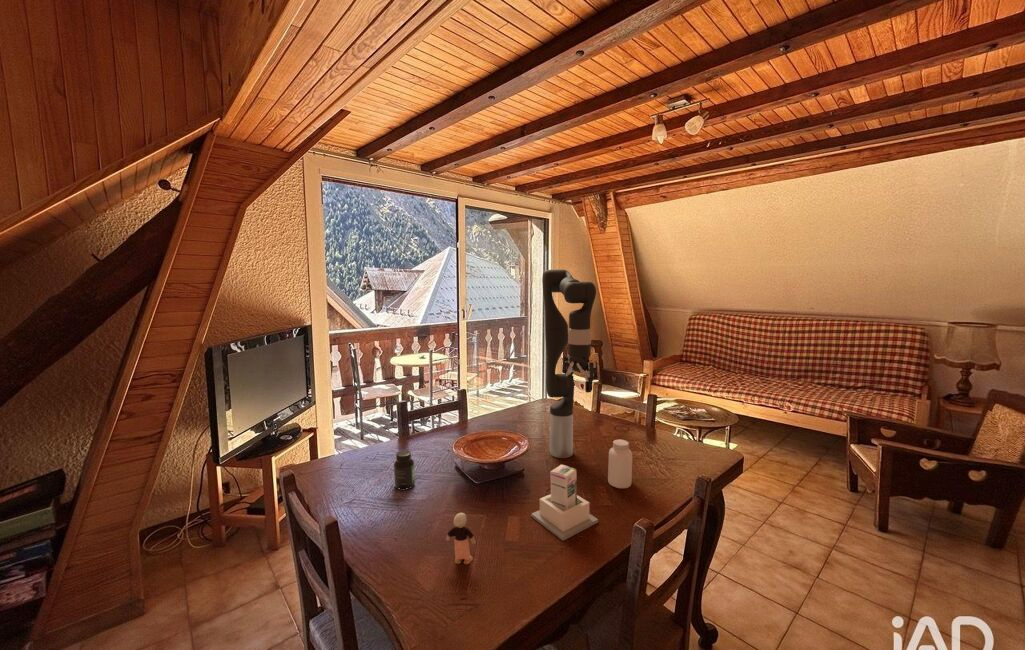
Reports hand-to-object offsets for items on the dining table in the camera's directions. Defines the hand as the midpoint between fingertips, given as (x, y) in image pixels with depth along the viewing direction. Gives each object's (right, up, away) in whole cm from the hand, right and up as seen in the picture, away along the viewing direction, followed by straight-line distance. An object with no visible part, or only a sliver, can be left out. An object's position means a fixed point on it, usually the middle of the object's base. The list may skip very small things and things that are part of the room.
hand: (579, 389), depth 136 cm
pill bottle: (+15, -34, +4) cm, 37 cm away
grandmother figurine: (-36, -39, -33) cm, 62 cm away
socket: (-7, -36, -16) cm, 40 cm away
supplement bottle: (-60, -35, +5) cm, 70 cm away
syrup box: (-7, -36, -16) cm, 40 cm away
